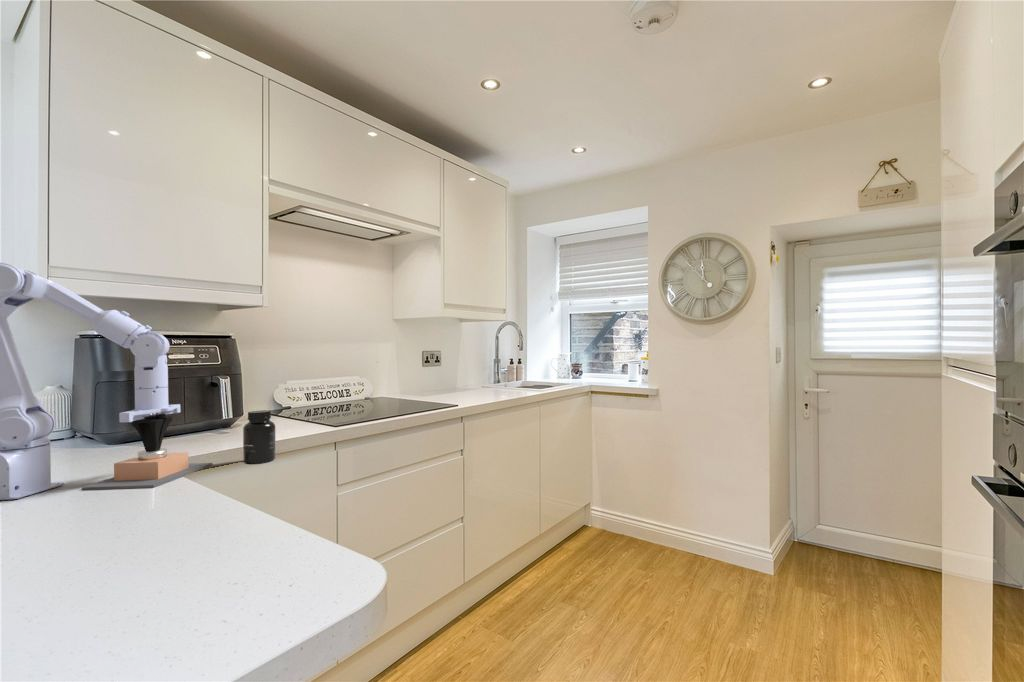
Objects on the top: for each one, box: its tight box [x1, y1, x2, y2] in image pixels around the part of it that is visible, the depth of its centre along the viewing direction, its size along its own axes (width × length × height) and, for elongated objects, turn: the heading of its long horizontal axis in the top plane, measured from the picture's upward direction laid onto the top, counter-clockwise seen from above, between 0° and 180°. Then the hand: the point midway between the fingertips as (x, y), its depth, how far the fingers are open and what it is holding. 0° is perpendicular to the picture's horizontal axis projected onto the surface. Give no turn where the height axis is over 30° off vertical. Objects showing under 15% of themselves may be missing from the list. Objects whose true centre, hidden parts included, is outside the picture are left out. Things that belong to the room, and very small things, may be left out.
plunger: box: [137, 447, 168, 460], centre depth 99 cm, size 5×5×5 cm
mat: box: [81, 462, 214, 491], centre depth 99 cm, size 18×14×1 cm
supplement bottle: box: [242, 409, 277, 465], centre depth 111 cm, size 7×7×12 cm
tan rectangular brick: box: [113, 451, 190, 481], centre depth 99 cm, size 9×9×4 cm
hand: (152, 451), depth 99 cm, fingers closed, pressing on plunger
